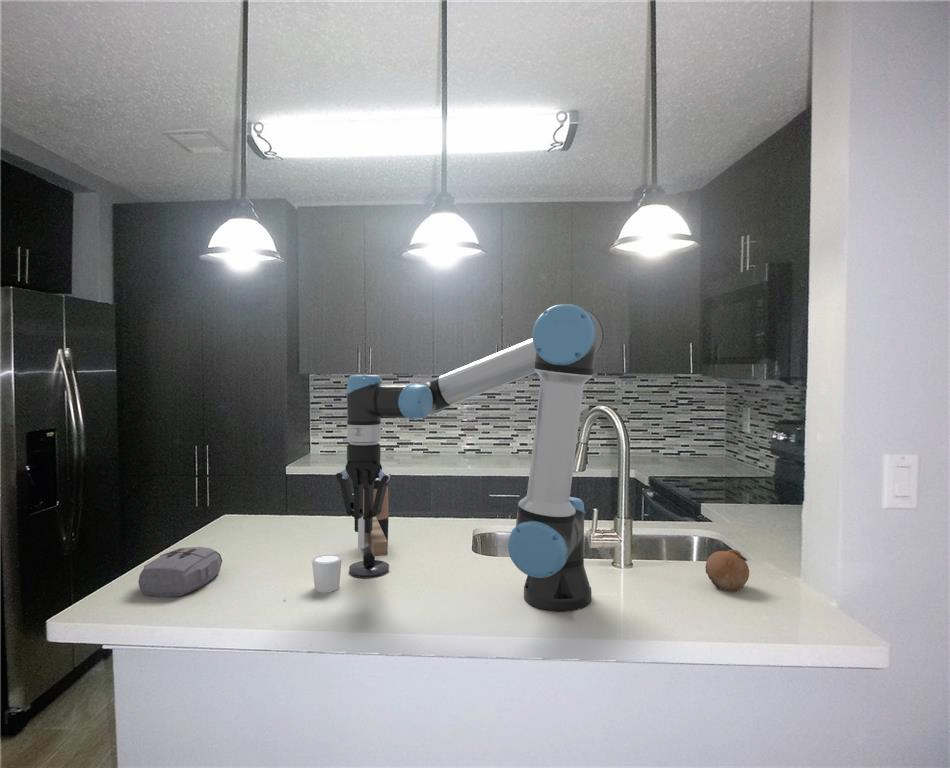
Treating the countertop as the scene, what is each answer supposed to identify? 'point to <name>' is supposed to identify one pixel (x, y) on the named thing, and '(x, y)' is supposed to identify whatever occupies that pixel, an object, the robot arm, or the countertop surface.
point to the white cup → (326, 572)
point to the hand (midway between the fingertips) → (363, 546)
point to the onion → (727, 570)
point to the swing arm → (377, 539)
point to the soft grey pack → (179, 572)
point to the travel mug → (384, 513)
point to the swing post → (368, 566)
